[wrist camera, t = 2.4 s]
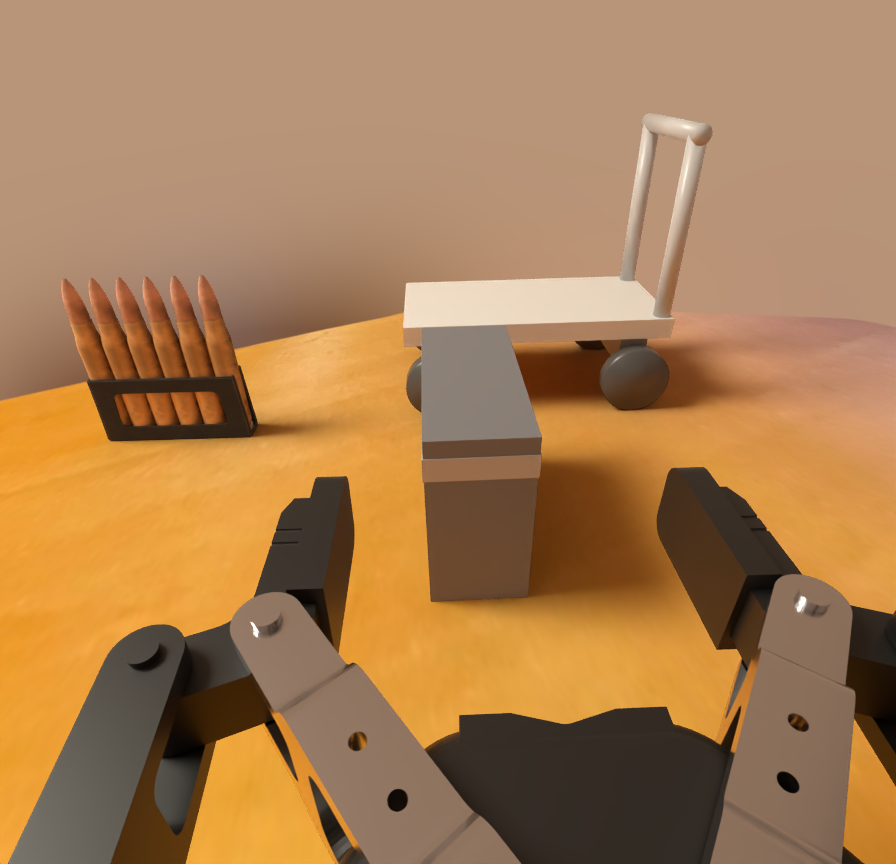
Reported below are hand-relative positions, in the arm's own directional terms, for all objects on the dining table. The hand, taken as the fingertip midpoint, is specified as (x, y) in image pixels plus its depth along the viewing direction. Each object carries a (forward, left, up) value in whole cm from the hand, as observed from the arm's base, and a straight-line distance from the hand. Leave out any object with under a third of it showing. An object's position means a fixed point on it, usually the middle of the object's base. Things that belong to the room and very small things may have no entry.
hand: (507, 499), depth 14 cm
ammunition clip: (+21, -25, -14) cm, 36 cm away
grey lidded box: (0, -14, -14) cm, 20 cm away
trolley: (-6, -32, -14) cm, 36 cm away
